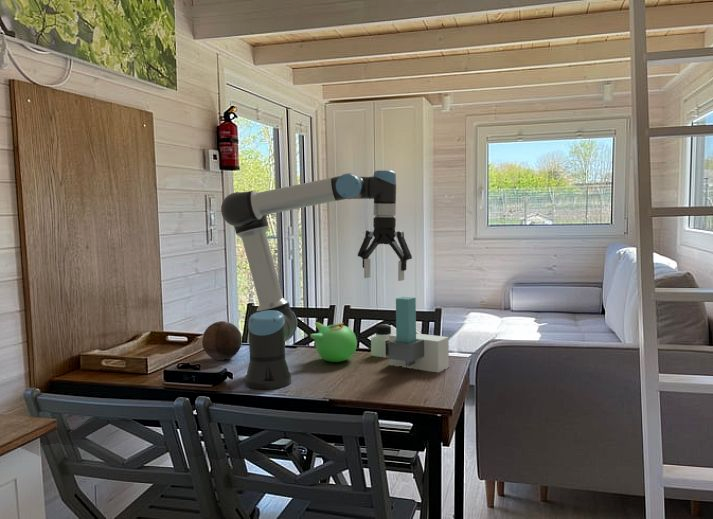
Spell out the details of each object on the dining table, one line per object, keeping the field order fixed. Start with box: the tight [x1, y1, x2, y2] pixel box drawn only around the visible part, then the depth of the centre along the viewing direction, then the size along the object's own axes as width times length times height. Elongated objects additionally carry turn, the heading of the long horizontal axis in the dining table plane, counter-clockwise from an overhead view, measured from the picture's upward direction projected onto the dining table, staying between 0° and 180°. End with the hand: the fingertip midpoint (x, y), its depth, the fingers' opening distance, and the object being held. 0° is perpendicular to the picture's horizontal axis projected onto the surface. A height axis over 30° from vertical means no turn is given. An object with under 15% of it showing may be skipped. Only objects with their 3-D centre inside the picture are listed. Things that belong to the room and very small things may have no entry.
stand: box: [388, 332, 450, 373], centre depth 212 cm, size 20×8×11 cm, turn 54°
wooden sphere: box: [201, 320, 243, 361], centre depth 228 cm, size 15×15×15 cm
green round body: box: [309, 321, 358, 363], centre depth 222 cm, size 18×17×15 cm
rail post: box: [395, 296, 417, 343], centre depth 204 cm, size 5×5×20 cm
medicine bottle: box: [370, 323, 392, 359], centre depth 229 cm, size 7×7×12 cm
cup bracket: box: [388, 339, 424, 366], centre depth 205 cm, size 9×9×9 cm
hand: (383, 279), depth 200 cm, fingers open, 13 cm apart
